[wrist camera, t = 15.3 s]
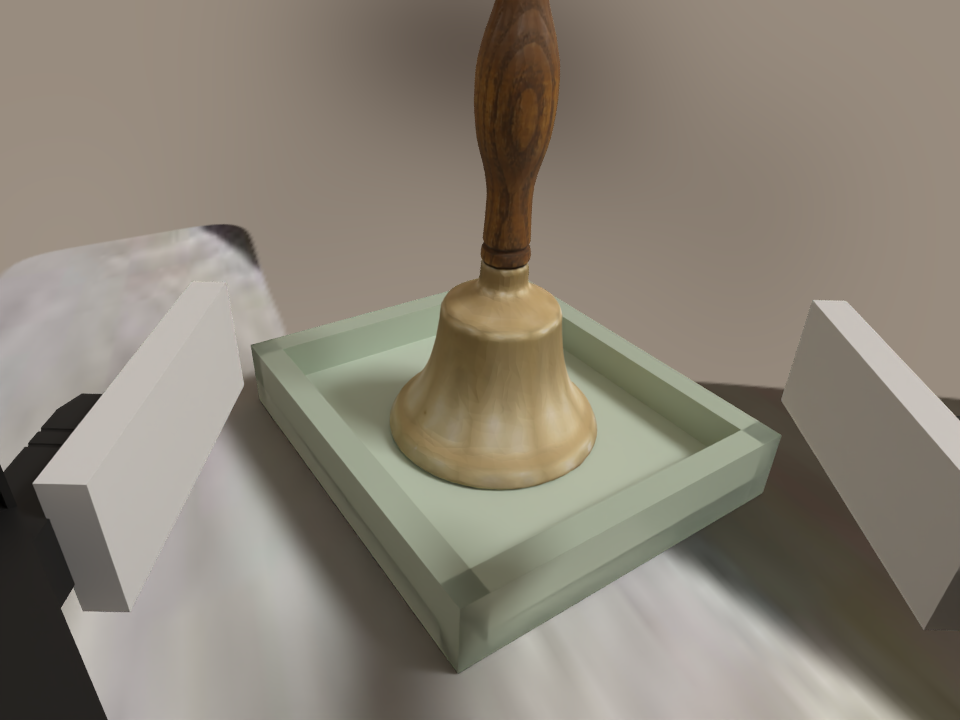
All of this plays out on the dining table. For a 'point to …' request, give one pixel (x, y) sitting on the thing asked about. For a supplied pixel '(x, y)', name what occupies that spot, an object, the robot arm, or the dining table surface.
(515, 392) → the hand bell
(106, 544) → the robot arm
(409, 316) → the tray
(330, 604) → the dining table surface
